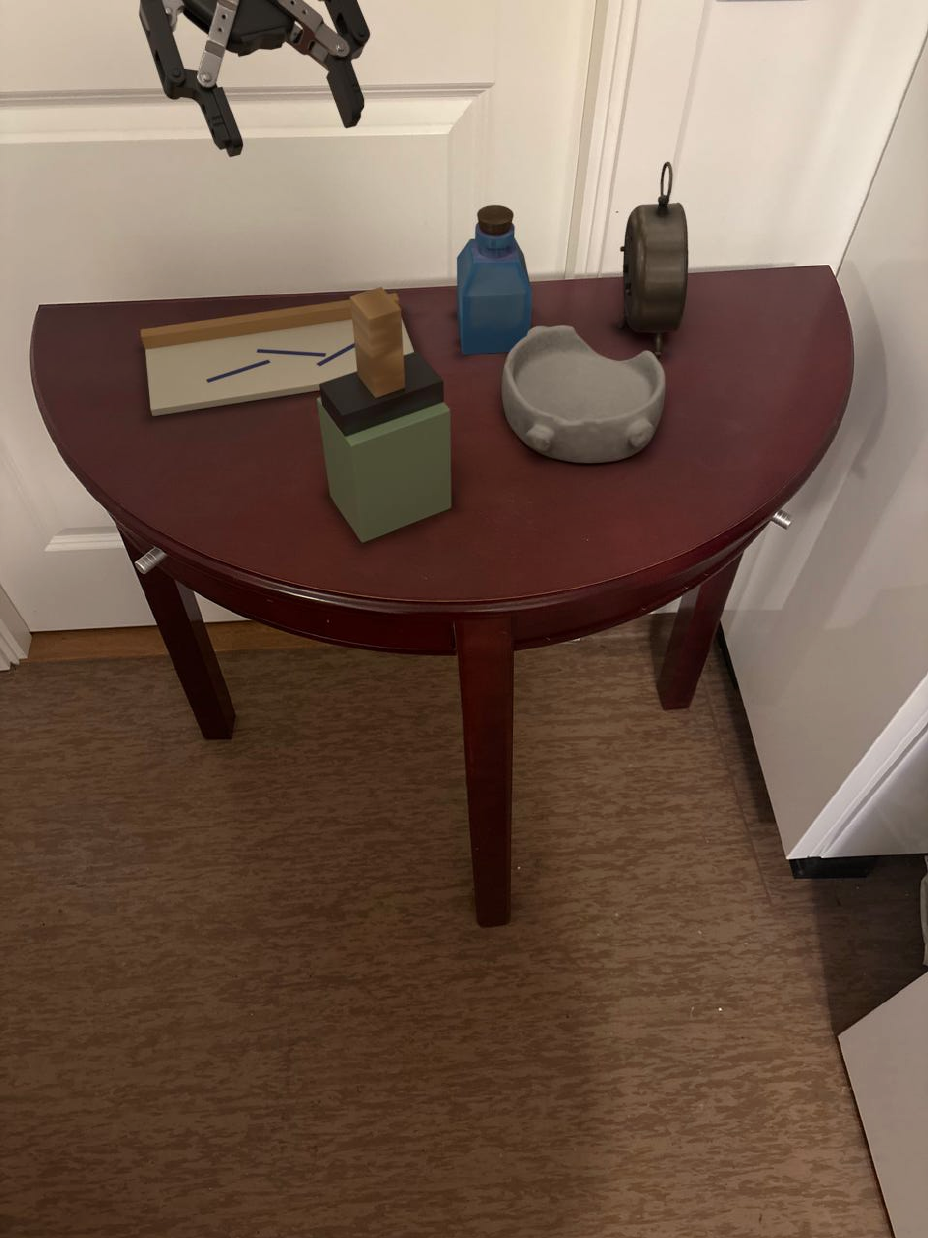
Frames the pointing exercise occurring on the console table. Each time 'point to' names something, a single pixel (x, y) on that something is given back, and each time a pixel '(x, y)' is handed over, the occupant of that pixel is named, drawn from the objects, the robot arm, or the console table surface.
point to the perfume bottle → (492, 286)
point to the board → (250, 356)
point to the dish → (580, 397)
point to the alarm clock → (655, 266)
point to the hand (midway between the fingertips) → (296, 136)
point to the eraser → (379, 371)
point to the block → (389, 470)
